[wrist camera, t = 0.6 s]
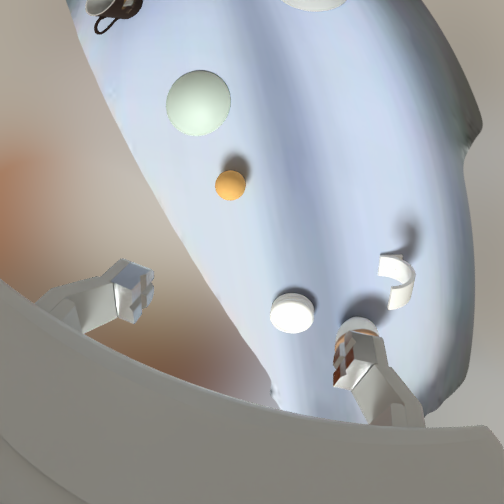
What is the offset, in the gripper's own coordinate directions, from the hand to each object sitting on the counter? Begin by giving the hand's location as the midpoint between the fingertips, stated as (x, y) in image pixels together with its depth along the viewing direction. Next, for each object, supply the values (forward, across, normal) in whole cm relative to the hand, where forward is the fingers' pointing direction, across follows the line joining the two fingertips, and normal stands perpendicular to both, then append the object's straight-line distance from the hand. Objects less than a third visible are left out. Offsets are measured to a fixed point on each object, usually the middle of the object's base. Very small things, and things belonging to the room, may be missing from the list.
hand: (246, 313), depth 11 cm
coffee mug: (+42, +42, -26) cm, 65 cm away
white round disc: (+43, -9, +34) cm, 56 cm away
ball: (+40, +10, +8) cm, 42 cm away
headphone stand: (+43, -25, +15) cm, 52 cm away
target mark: (+42, +20, -6) cm, 47 cm away
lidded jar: (+43, -25, +33) cm, 60 cm away
